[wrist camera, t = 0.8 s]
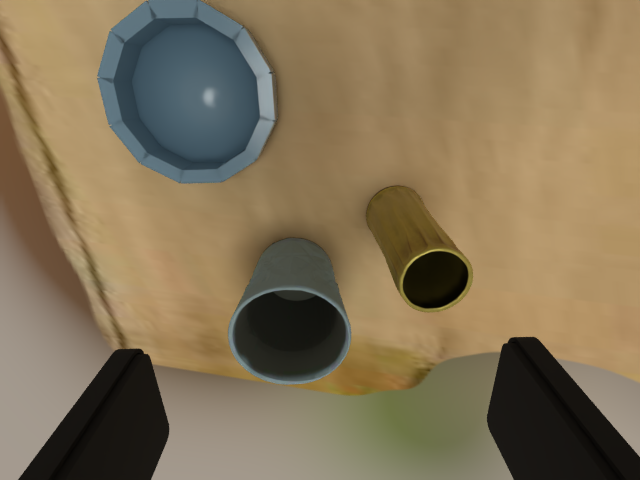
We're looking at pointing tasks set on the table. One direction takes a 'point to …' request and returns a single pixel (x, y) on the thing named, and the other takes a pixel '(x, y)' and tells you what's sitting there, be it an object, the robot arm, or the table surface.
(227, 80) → the bowl
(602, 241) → the table surface
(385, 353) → the table surface
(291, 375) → the blue-grey cup
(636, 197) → the table surface
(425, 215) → the vase
